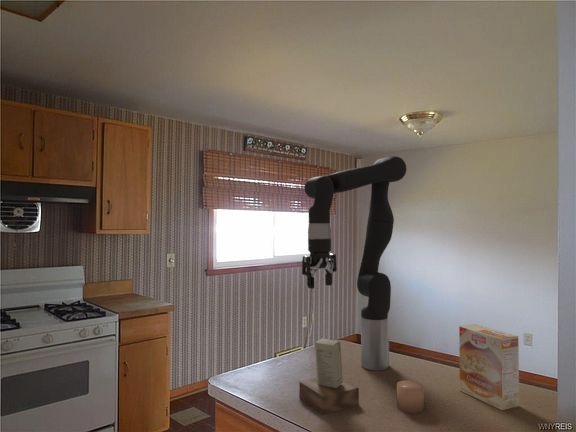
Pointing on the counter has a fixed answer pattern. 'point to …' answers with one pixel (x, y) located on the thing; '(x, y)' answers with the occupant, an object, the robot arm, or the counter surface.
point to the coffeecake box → (489, 365)
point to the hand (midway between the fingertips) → (320, 286)
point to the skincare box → (329, 363)
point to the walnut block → (328, 395)
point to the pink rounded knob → (410, 396)
